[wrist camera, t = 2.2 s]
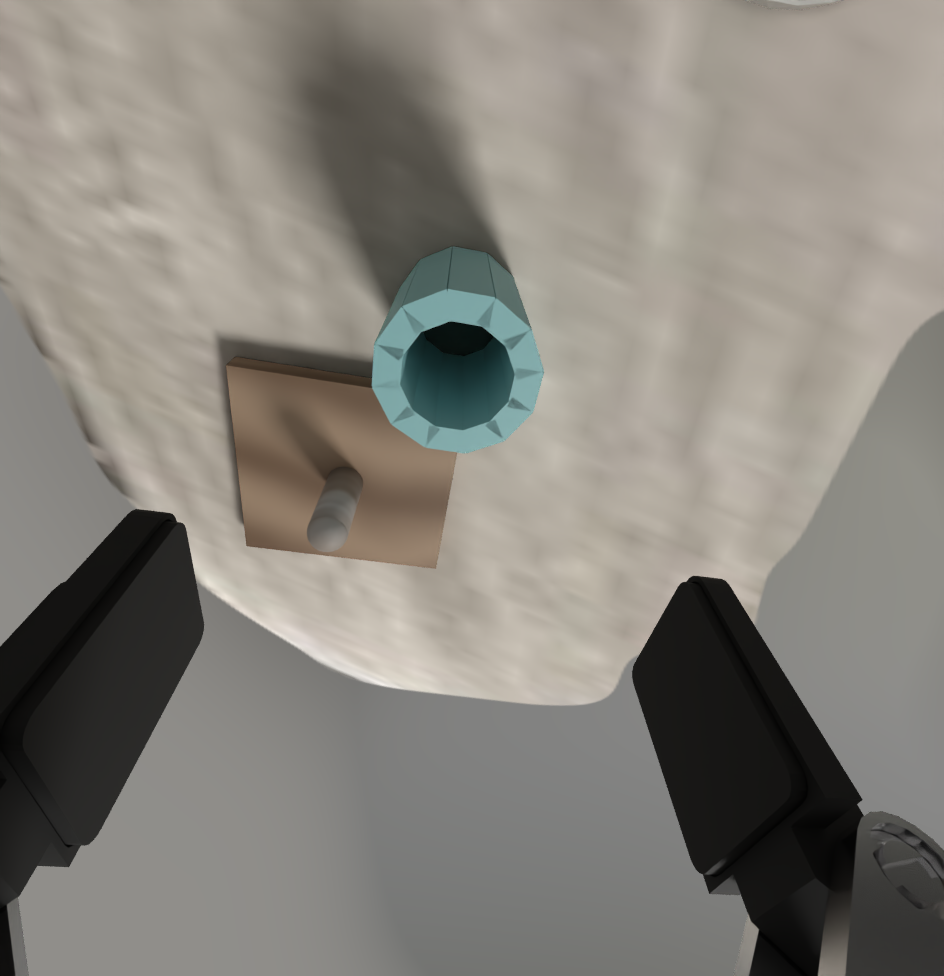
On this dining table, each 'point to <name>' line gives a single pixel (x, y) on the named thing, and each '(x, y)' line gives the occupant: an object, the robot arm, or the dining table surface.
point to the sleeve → (452, 378)
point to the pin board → (332, 468)
